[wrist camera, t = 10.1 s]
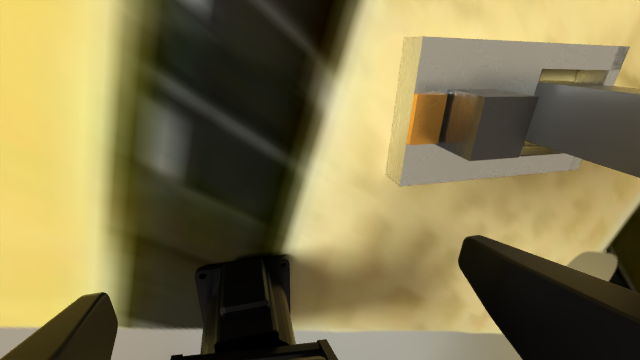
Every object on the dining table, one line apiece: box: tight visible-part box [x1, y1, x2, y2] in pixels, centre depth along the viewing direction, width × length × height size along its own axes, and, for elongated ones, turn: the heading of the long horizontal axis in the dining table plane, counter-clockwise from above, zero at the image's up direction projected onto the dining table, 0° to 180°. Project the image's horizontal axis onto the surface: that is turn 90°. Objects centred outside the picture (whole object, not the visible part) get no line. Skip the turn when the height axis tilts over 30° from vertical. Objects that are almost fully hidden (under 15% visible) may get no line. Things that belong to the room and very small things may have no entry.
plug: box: [525, 81, 640, 178], centre depth 18 cm, size 4×4×9 cm
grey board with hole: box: [386, 37, 629, 186], centre depth 19 cm, size 9×16×5 cm, turn 88°
